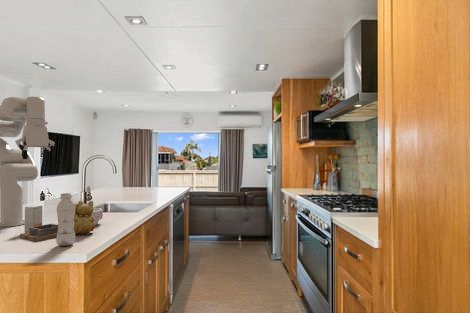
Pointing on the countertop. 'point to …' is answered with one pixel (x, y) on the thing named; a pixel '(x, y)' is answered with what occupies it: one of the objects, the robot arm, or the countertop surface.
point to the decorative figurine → (83, 218)
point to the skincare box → (33, 216)
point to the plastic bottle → (65, 220)
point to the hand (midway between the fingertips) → (36, 159)
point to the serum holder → (41, 232)
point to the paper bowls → (97, 214)
